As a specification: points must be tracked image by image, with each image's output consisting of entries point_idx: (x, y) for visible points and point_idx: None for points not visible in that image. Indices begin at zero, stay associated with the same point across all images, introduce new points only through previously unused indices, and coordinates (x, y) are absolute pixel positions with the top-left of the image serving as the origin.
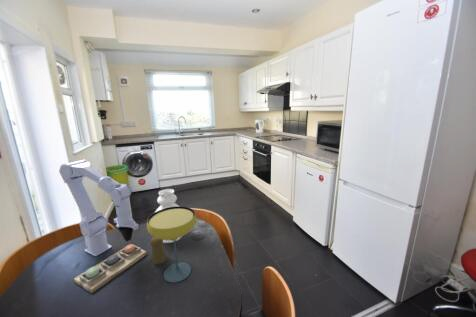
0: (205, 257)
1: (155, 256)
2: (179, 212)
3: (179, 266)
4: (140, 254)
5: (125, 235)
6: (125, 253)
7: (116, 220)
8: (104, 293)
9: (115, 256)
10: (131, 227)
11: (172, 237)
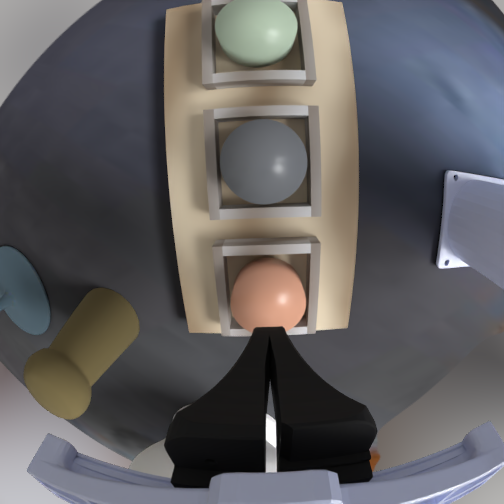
0: None
1: (74, 314)
2: None
3: (21, 312)
4: (192, 301)
5: (232, 369)
6: (268, 258)
7: (456, 489)
8: (119, 53)
9: (256, 184)
10: (128, 474)
11: None
